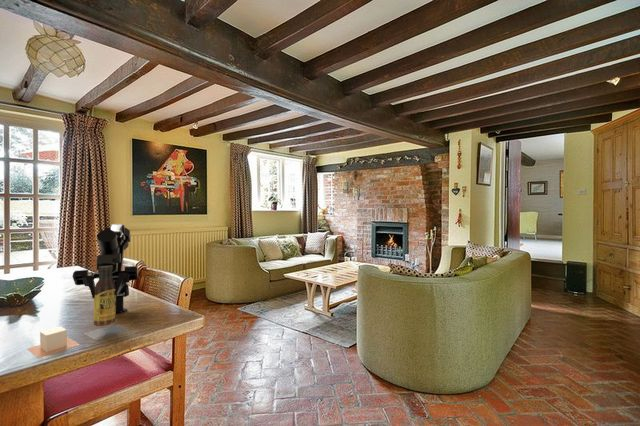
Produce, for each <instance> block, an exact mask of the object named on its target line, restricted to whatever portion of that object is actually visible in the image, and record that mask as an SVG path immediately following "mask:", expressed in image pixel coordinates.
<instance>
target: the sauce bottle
mask: <svg viewBox="0 0 640 426" xmlns="http://www.w3.org/2000/svg"><path fill="white" fill-rule="evenodd" d="M112 270H113V265H102V266H99V278H98V281H97V282H95V294H94V298H93V317H92V318H93V325H94V326H96V327H105V326H110V325H112V324H113V323H115V319H116V314H117V313H116V296H115V291H116V287H115V282H114V281H113V278H112Z"/></svg>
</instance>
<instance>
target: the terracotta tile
mask: <svg viewBox="0 0 640 426" xmlns="http://www.w3.org/2000/svg"><path fill="white" fill-rule="evenodd" d="M80 345H81V344H80V343H78V342H76V341H75V340H74V339H72V338H70V337H68V336H67V346H64V347H61V348H58V349H55V350H52V351H48V352H45V351H44V350H43V349H41V348H40V344H38V345H36V346H31V347H29V348H26V350H27V351H29V353H31V354H32V355H34V356H35V357H36V358H37V359H39V358H43V357H46V356H49V355H53V354H56V353H59V352H61V351H64V350H68V349H72V348H75V347H77V346H80Z"/></svg>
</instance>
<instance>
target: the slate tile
mask: <svg viewBox="0 0 640 426" xmlns="http://www.w3.org/2000/svg"><path fill="white" fill-rule="evenodd" d="M128 331H130V330H129V329H127V328H126V327H123V326H121V325H119V324H116V323H115V324H109V325H106V326H102V327H100V328H97V329H94V330H90V331H87V332H84V333H82V334H83V335H85V336H86V337H88V338H90V339H92V340H94V341H96V342H97V341H101V340H104V339H106V338H110V337H112V336H116V335H118V334H121V333H125V332H128Z"/></svg>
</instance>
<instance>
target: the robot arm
mask: <svg viewBox="0 0 640 426" xmlns="http://www.w3.org/2000/svg"><path fill="white" fill-rule="evenodd" d="M96 241H97V243H98V248H99V250H100V255H97V256H96V262H95V263H96V264H95V265H96V271H97V272H93V271H89V268H88V269H76V270H75V271H74V272H73V273H72V279H73V282H74V284H75V286H84V287H88V289H89V290H90V294H91V297H92V299H94V294H95V286H96V282H95V279H99V266H102V265H113V270H112V278H113V281H114V282H115V287H116V291H115V296H116V314H119V313H122V312H126V311H128V308H125V307H124V300H125V299H124V298H127V297H128V296H130V288H129V284H128V283H130V281H137V280H138V279H139V269H138V266H137V265H129V266H124V265H123V264H124V257H125V256H124V254H125V251H126V249H127V248H129V244H130V242H131V230H130V229H128V228H126V226H125V224H123V223H112V224H110V227H104V229H103V230H100V231H99V232H98V233H97V234H96ZM123 266H124V270H123Z"/></svg>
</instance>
